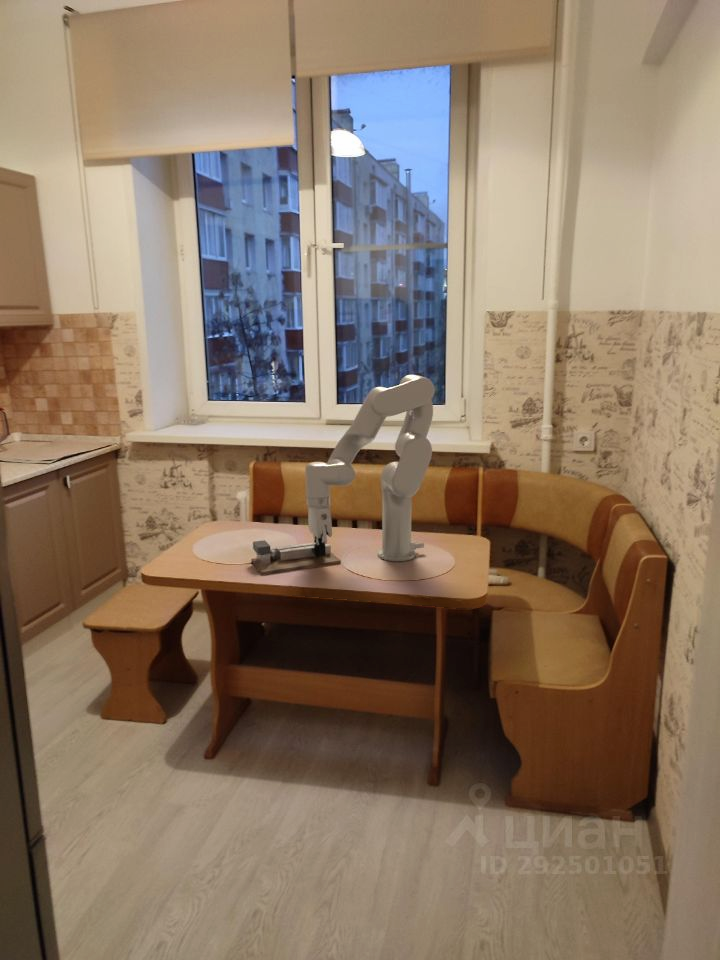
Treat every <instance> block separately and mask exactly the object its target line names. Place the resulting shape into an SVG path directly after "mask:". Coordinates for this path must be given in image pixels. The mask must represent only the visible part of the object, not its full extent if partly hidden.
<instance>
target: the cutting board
mask: <svg viewBox="0 0 720 960" xmlns="http://www.w3.org/2000/svg"><path fill="white" fill-rule="evenodd" d="M251 563H252V564H253V566H254V567H255V568H256V570H257V571H258V572H259V573H260V575H261V576H266V575H271V574H277V573H286V572H291V571H300V570H307V569H312V568H318V567H325V566H326V567H327V566H332V565H338V564H339V565H340V564H341V563H342V561H341V559H340V558H339V557H337V556H336V555H335V554H334V553H332V552H331V554H327V555H325V556H321V557H316V556H313V557H306V558H298V559H291V560H284V561H280V559H278V558H276V560H273V561H271V560H270V564H266V565H261V564H260V563H259V561H258V560H257V557H254V558H251Z"/></svg>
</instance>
